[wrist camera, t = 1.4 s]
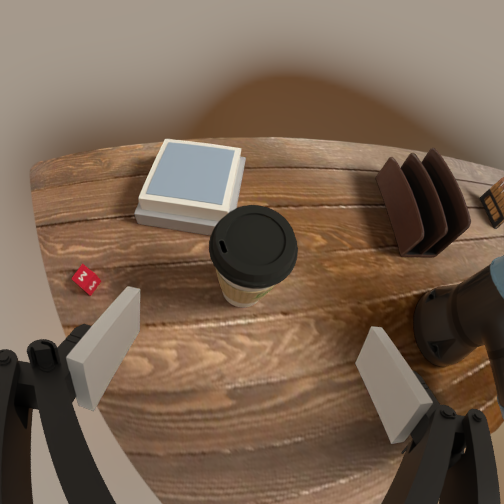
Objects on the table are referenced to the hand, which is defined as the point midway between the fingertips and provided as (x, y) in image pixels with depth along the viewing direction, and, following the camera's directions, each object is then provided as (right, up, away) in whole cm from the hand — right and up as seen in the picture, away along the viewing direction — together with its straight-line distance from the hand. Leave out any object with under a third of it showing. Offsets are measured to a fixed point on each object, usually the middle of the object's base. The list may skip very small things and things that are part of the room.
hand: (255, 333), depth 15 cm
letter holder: (+33, +12, +40) cm, 53 cm away
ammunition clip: (+69, +16, +47) cm, 85 cm away
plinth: (-11, +15, +35) cm, 40 cm away
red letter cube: (-26, -1, +25) cm, 36 cm away
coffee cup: (-2, -1, +29) cm, 29 cm away
